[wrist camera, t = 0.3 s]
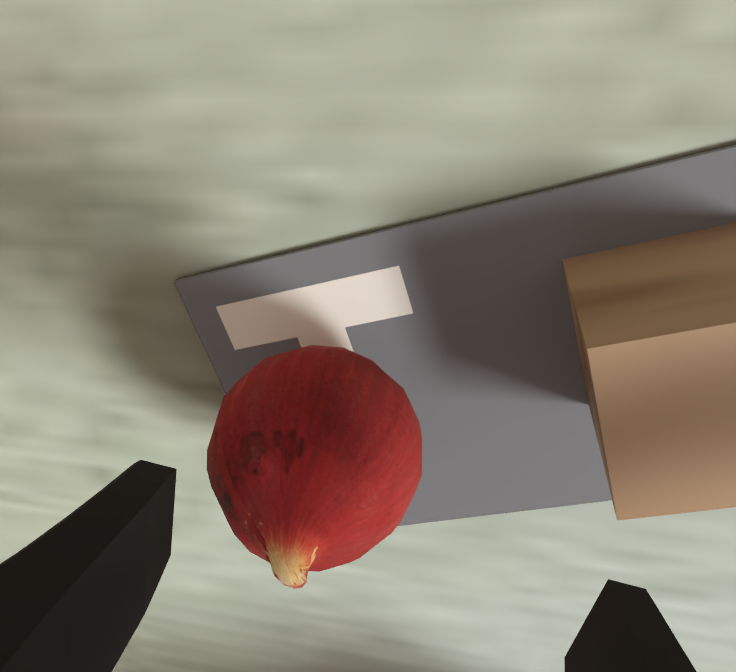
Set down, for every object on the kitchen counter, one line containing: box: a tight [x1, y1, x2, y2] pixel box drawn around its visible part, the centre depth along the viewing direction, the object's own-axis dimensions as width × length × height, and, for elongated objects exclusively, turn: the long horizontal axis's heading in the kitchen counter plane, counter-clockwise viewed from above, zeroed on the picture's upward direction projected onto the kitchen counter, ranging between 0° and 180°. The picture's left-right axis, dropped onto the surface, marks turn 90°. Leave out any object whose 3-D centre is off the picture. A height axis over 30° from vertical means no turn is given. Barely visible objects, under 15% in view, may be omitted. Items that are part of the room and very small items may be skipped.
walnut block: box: [562, 222, 736, 520], centre depth 17 cm, size 5×5×5 cm
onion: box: [207, 345, 422, 589], centre depth 18 cm, size 6×6×8 cm
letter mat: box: [174, 144, 736, 526], centre depth 21 cm, size 11×18×1 cm, turn 107°
